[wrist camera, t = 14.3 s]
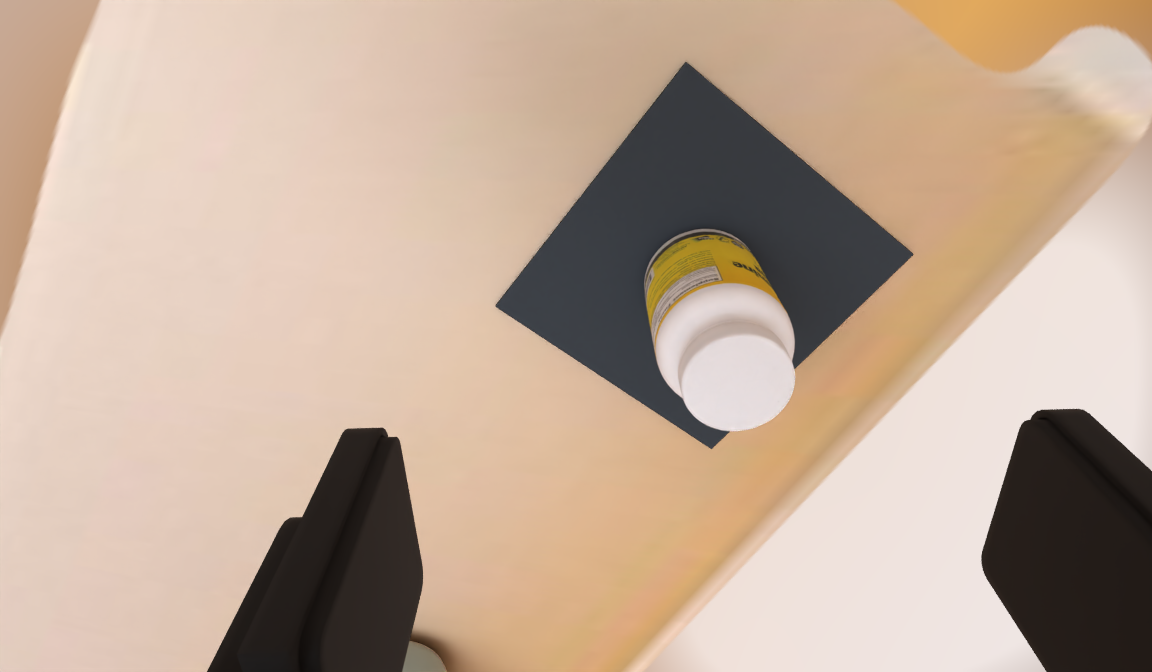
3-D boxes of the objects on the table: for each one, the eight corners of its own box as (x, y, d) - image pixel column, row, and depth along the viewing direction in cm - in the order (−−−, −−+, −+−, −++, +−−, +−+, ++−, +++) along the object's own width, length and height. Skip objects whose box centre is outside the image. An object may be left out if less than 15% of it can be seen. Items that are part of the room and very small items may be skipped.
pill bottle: (776, 296, 40) (839, 408, 31) (676, 347, 42) (705, 470, 32) (726, 202, 38) (777, 291, 28) (621, 261, 39) (635, 364, 30)
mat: (685, 61, 35) (686, 62, 35) (912, 253, 39) (913, 254, 39) (495, 305, 41) (495, 306, 41) (711, 447, 45) (711, 449, 45)
